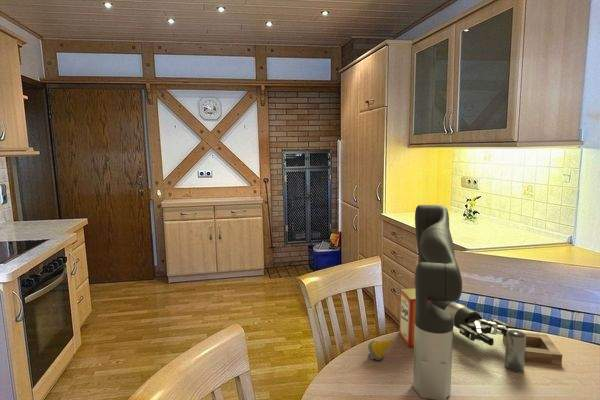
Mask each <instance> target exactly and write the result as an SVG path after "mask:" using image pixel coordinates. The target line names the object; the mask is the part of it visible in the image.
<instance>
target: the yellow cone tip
mask: <svg viewBox="0 0 600 400" xmlns="http://www.w3.org/2000/svg"><path fill="white" fill-rule="evenodd" d="M392 342H393V339H389V340H380V341H375V340H373V341H370V342H369V343H368V345H367V346H368V347H367V348H368V349H367V350H368V351H369V354H368V355H367V356H368V357H369V359H370V360H371V359H372V360H371V361H373V360H374V359H375V360H377V361H380V360H382V359H384V356H385V353H386V352H387V350H388V349H389V346H390V345H391V344H392Z"/></svg>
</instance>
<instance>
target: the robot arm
mask: <svg viewBox="0 0 600 400" xmlns="http://www.w3.org/2000/svg"><path fill="white" fill-rule="evenodd" d="M449 215H450V214H449V211H448V208H447V207H446V206H444V205H443V204H418V205H417V206H416V207H415V212H414V226H415V238H416V247H417V253H418V263H417V265H416V267H415V273H414V288H415V296H416V309H415V333H414V347H413V364H412V365H413V366H412V367H413V368H412V369H413V371H412V372H413V375H412V376H413V378H412V388H413V390H414V391H415V392H416V393H417V395H418V396H419V398H423V399H430V400H447V398H449V396H450V395H451V391H452V369H453V368H452V366H453V343H454V342H453V341H454V327H455V328H456V329H459V334H460V335H462V336H464V337H465V338H467V339H468V340H470V341H472V342H474V341H476V340H477V341H478V342H479V341H481V342H483V343H484V344H487V345H489V346H490V347H491V346H494V340H495V339H494V338H493V337H492V336H490V335H494V336H496V335H501V336H502V337H503V336H505V337H506V334H507V331H509V330H510V329H509V324H507V323H505V322H503V321H501V320H499V319H496V318H494V317H490V320H489V321H488V320H487V319H483V318H482V316H481V314H480V313H479V312H478V311H476V310H475V309H471V308H469V307H468V306H465V304H461V303H458V302H456V301H457V300H459V299H460V297H461V296H462V291H463V279H462V274H461V270H460V268H459V267H460V266H459V265H458V262H457V260H456V256H455V248H454V247H455V246H454V242H453V238H452V237H453V236H452V234H451V229H450V216H449ZM429 300H431V303H430V302H429ZM489 334H490V335H489Z"/></svg>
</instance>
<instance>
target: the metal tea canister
mask: <svg viewBox="0 0 600 400" xmlns="http://www.w3.org/2000/svg"><path fill="white" fill-rule="evenodd" d="M508 330H509V331H507V334H506V345H505V351H504V368H505V369H506V370H508V371H510V372H513V373H518V374H519V373H524V371H525V364H526V363H525V362H526V361H525V348H526V346H527V345H526V335H525V334H524V333H525V332H523V331H520V330H516V329H508Z"/></svg>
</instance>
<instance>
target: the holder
mask: <svg viewBox="0 0 600 400" xmlns="http://www.w3.org/2000/svg"><path fill="white" fill-rule="evenodd" d="M523 333H524V334H525V335H526V346H527V347H526V348H525V362H530V363H532V362H533V363H538V364H539V363H541V364H549V365H557V366H562V365H563V364H562V362H563V354H562V353H561V352H560V350H559V349H558V347H557V346H556V345H555V343H554V341H552V340H551V338H550V337H549V335H548V334H541V333H540V334H539V333H532V332H523ZM502 341H503V342H504V344H505V346H506V337H505V336H503V335H502ZM529 346H530V347H529ZM538 347H539V348H538Z"/></svg>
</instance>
